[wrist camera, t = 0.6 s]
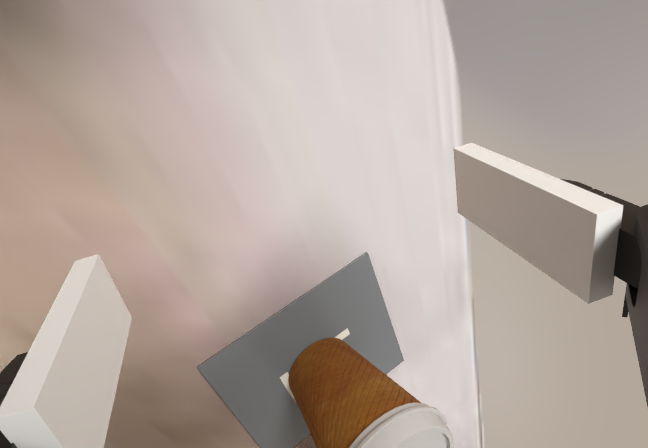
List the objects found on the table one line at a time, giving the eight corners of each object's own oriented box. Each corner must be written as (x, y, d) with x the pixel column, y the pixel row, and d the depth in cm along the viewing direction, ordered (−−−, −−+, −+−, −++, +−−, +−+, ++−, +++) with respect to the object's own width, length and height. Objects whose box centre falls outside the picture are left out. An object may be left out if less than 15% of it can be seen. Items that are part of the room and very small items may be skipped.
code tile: (197, 367, 32) (197, 368, 32) (366, 252, 37) (367, 253, 36) (271, 461, 40) (272, 463, 40) (402, 359, 45) (404, 360, 45)
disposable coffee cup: (380, 334, 41) (479, 427, 32) (328, 417, 42) (409, 532, 32) (310, 308, 35) (404, 413, 26) (249, 404, 36) (320, 540, 27)
